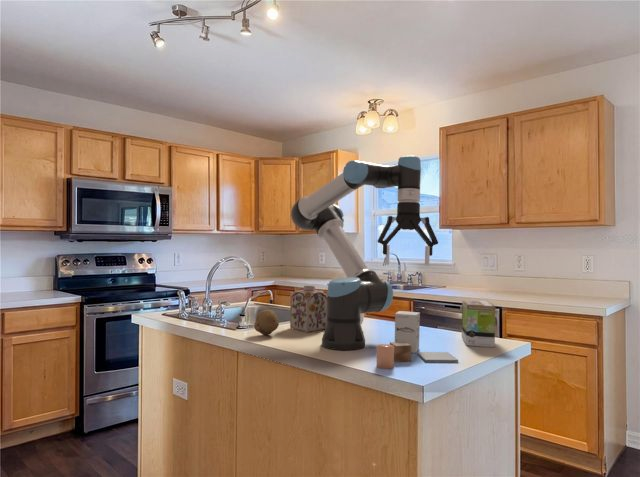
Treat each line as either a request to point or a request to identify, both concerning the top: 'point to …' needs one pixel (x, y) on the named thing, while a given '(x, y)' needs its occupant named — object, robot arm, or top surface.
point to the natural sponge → (266, 322)
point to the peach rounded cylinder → (385, 356)
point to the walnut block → (401, 351)
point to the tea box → (478, 323)
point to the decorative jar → (308, 310)
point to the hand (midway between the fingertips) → (407, 265)
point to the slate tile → (437, 357)
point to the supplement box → (408, 328)
